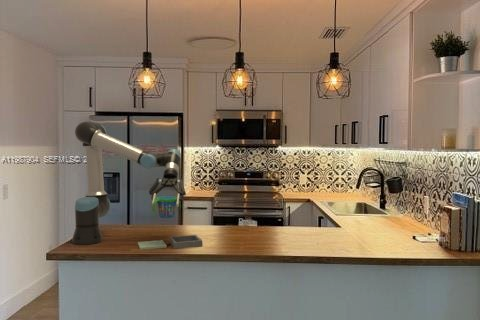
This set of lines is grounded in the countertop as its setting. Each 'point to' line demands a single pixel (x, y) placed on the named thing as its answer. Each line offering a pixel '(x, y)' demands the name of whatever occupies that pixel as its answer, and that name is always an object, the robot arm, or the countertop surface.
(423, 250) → the countertop surface
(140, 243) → the mat
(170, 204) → the snack cup
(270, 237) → the countertop surface
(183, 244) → the square frame
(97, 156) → the robot arm
